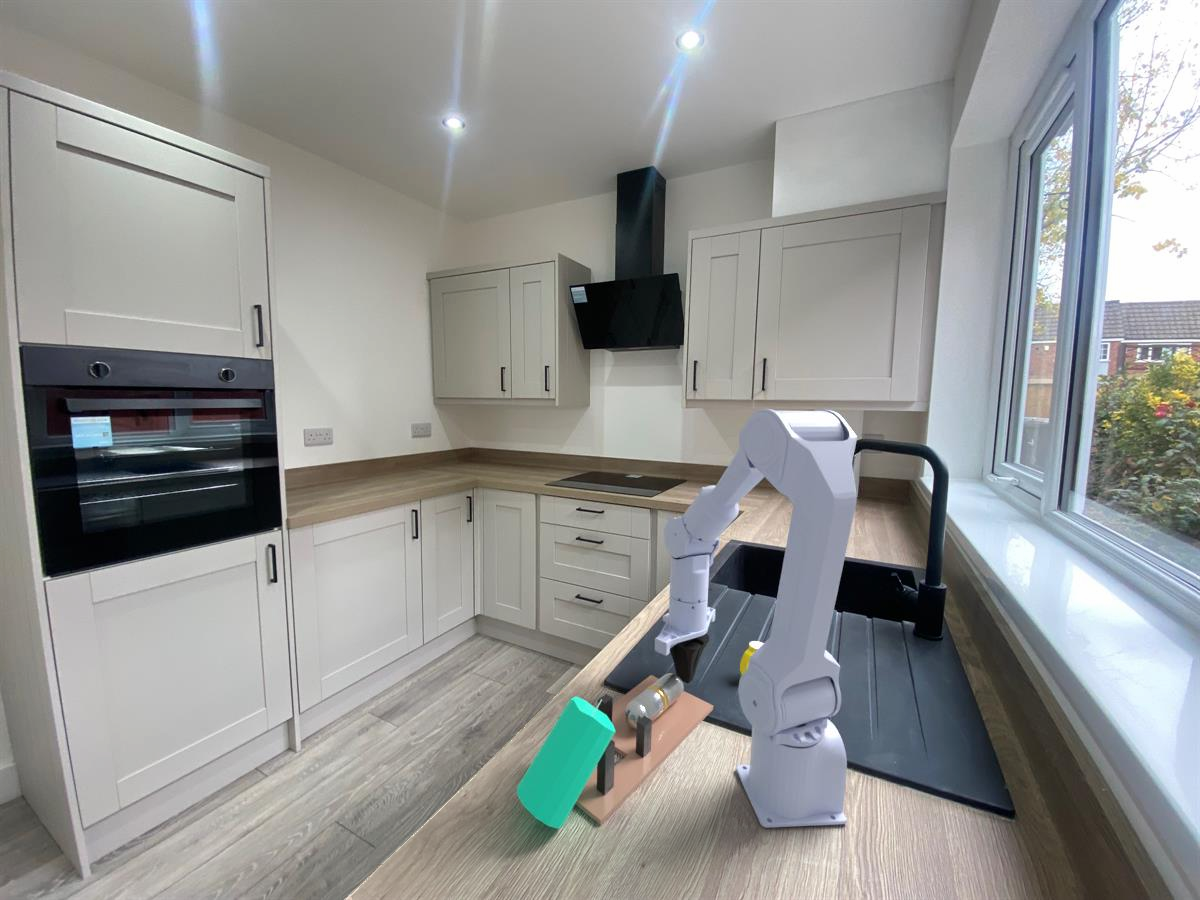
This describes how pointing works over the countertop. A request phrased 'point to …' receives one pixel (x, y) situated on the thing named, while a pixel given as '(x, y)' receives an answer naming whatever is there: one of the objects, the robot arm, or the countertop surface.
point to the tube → (654, 699)
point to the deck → (633, 767)
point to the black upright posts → (607, 760)
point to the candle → (565, 762)
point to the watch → (749, 655)
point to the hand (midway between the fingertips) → (684, 679)
